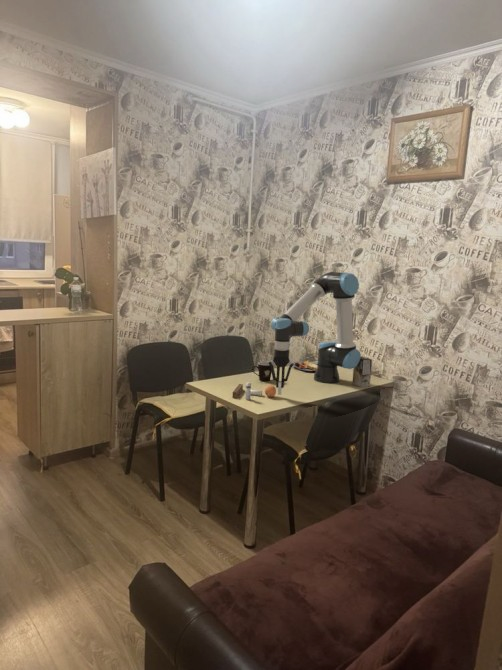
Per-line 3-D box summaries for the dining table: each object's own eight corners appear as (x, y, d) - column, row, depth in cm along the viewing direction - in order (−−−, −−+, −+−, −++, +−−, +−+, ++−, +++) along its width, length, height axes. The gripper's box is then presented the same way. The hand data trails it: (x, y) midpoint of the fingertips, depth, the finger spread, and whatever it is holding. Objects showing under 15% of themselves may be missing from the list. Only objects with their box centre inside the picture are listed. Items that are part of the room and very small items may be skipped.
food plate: (284, 366, 309) (285, 361, 308) (309, 362, 323) (310, 357, 322) (311, 375, 289) (311, 370, 289) (336, 371, 304) (337, 366, 303)
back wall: (242, 389, 251) (242, 384, 250) (236, 398, 235) (236, 392, 235) (239, 389, 251) (239, 384, 250) (232, 397, 235) (232, 392, 235)
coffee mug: (272, 378, 275) (273, 362, 274) (271, 382, 267) (272, 365, 265) (252, 377, 276) (253, 361, 275) (251, 381, 268) (252, 364, 266)
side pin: (250, 398, 235) (251, 382, 234) (249, 400, 233) (250, 383, 231) (246, 398, 235) (246, 382, 234) (245, 399, 233) (245, 383, 232)
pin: (262, 390, 241) (246, 388, 244) (260, 392, 239) (245, 390, 242) (262, 394, 242) (247, 392, 245) (260, 396, 240) (245, 394, 243)
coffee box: (370, 386, 267) (372, 359, 264) (361, 387, 264) (363, 359, 262) (360, 382, 275) (362, 355, 272) (351, 383, 272) (353, 356, 270)
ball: (267, 382, 243) (263, 393, 243) (266, 384, 237) (262, 395, 237) (278, 386, 242) (274, 397, 242) (277, 388, 236) (273, 399, 236)
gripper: (295, 348, 237) (292, 393, 241) (270, 346, 240) (268, 390, 244) (294, 351, 230) (291, 397, 234) (268, 349, 232) (266, 394, 236)
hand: (279, 393), depth 239 cm, fingers closed
